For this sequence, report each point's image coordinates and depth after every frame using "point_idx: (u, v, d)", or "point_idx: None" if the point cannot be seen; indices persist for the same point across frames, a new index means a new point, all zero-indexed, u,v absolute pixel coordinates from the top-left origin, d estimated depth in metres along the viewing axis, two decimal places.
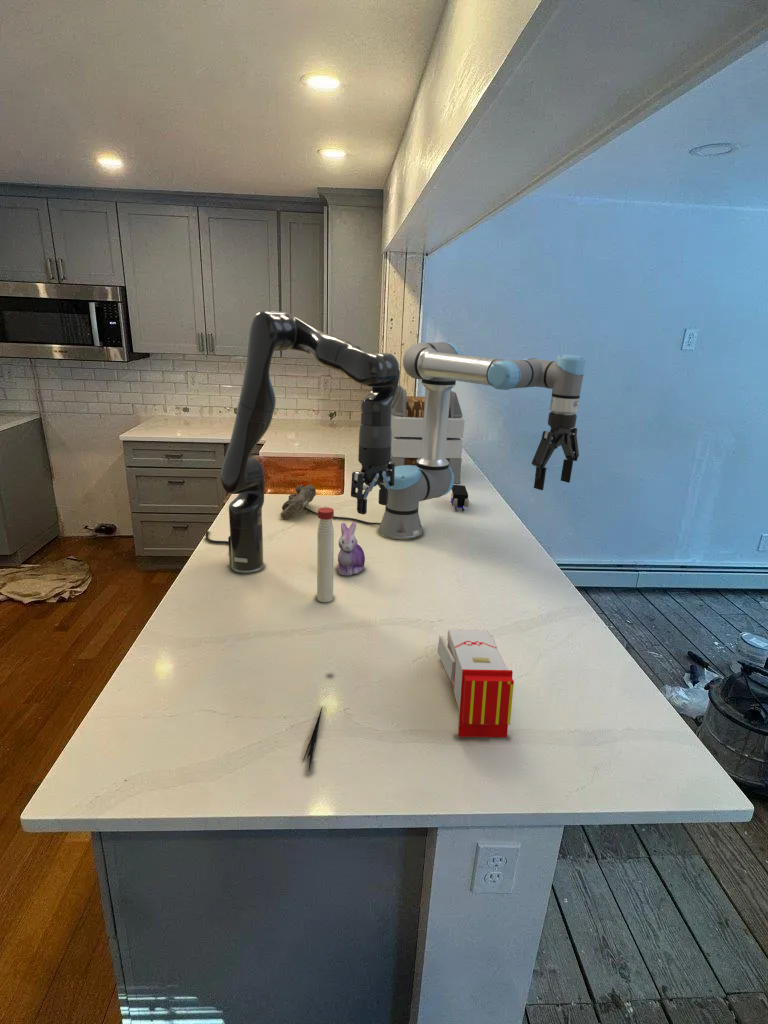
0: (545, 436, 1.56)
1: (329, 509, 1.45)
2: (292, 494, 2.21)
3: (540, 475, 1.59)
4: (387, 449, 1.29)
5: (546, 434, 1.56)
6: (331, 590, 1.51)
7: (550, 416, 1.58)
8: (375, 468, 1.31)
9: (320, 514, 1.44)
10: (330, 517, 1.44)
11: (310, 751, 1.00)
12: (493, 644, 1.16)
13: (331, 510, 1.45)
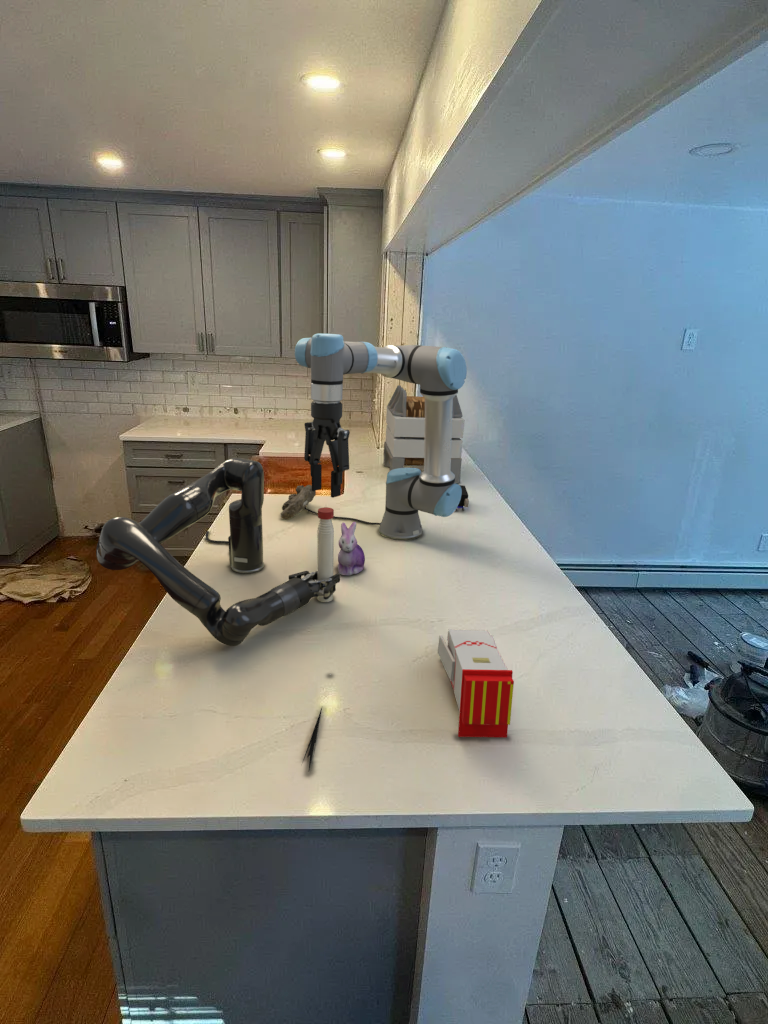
0: (345, 436, 1.34)
1: (329, 509, 1.45)
2: (292, 494, 2.21)
3: None
4: (290, 583, 1.40)
5: (346, 434, 1.34)
6: None
7: (330, 408, 1.33)
8: None
9: (320, 514, 1.44)
10: (330, 517, 1.44)
11: (310, 751, 1.00)
12: (493, 644, 1.16)
13: (331, 510, 1.45)
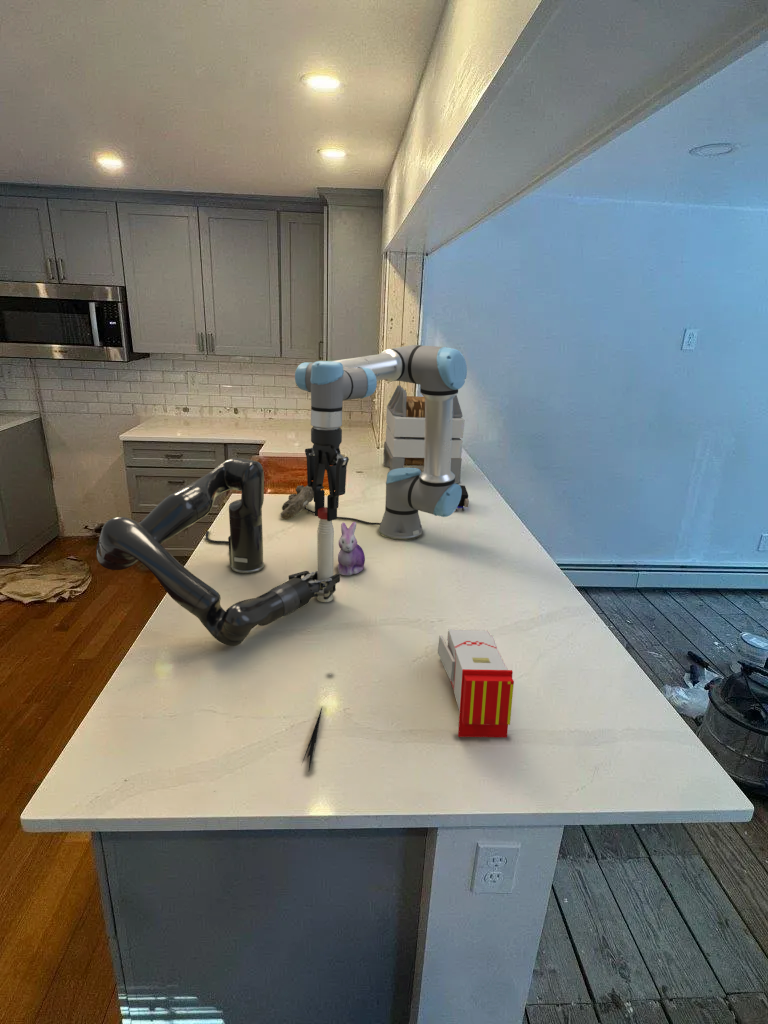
0: (343, 463, 1.37)
1: None
2: (292, 494, 2.21)
3: None
4: (290, 583, 1.40)
5: (345, 461, 1.36)
6: None
7: (330, 435, 1.35)
8: None
9: (320, 514, 1.44)
10: None
11: (310, 751, 1.00)
12: (493, 644, 1.16)
13: None
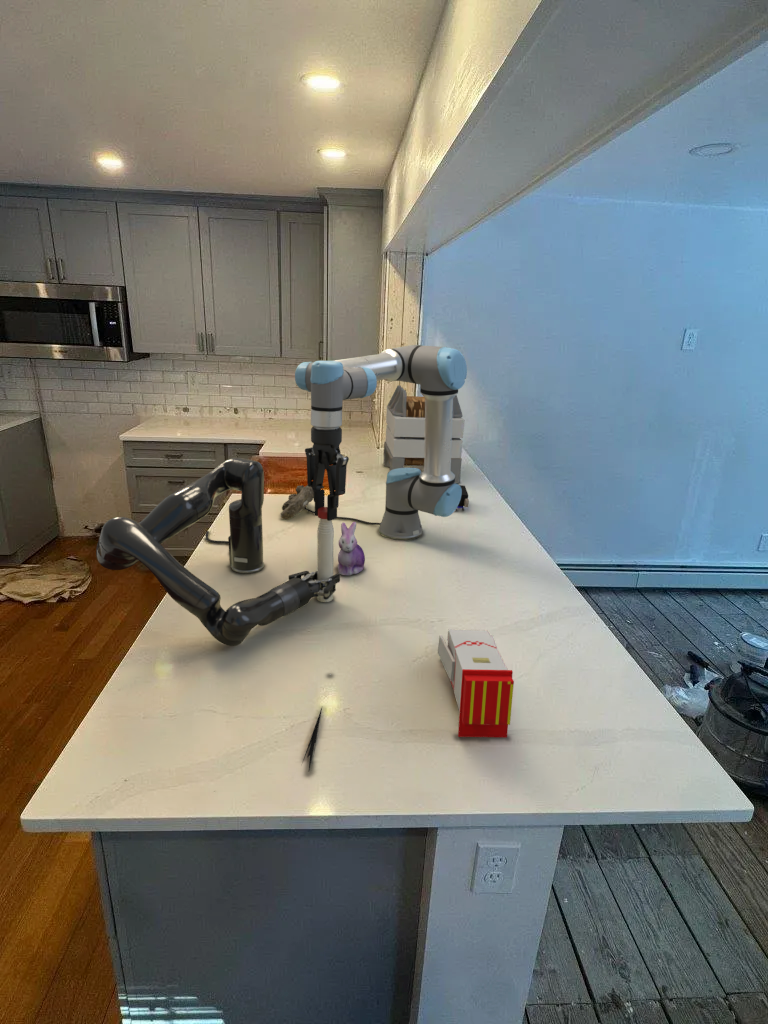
0: (343, 463, 1.36)
1: (324, 508, 1.46)
2: (292, 494, 2.21)
3: None
4: (290, 583, 1.40)
5: (345, 461, 1.36)
6: None
7: (330, 434, 1.35)
8: None
9: None
10: None
11: (310, 751, 1.00)
12: (493, 644, 1.16)
13: None
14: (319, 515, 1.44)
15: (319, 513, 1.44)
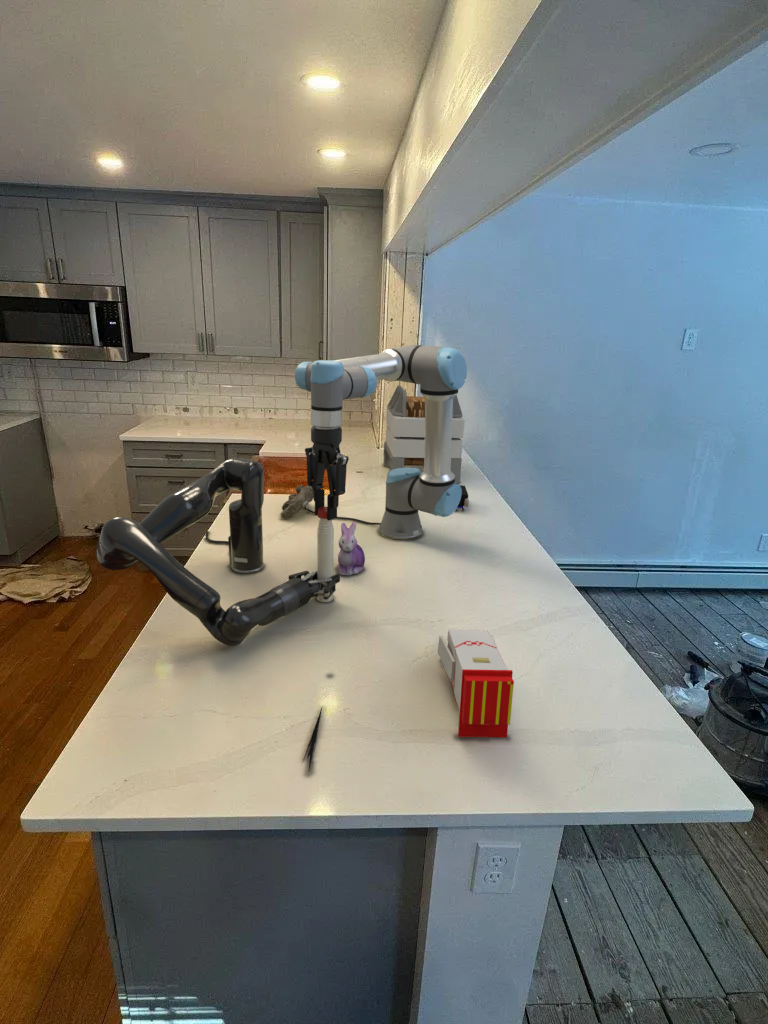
0: (343, 463, 1.36)
1: (321, 509, 1.45)
2: (292, 494, 2.21)
3: None
4: (290, 583, 1.40)
5: (345, 461, 1.36)
6: None
7: (330, 434, 1.35)
8: None
9: None
10: None
11: (310, 751, 1.00)
12: (493, 644, 1.16)
13: (320, 508, 1.45)
14: None
15: None
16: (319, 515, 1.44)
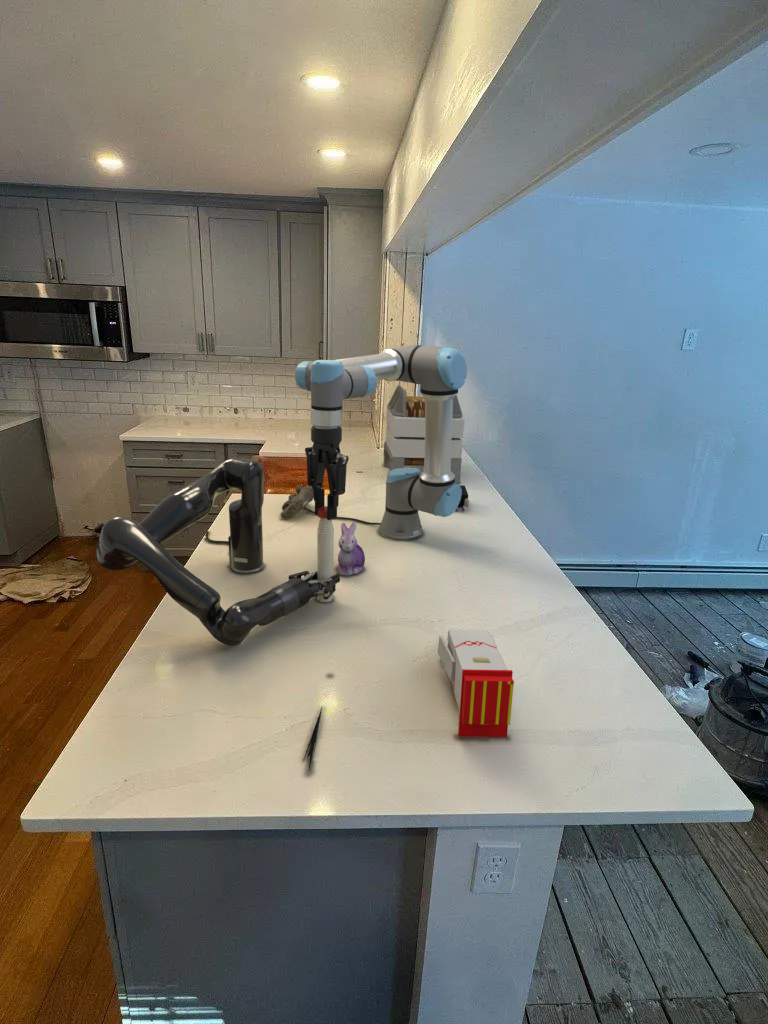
0: (343, 462, 1.36)
1: (326, 510, 1.44)
2: (292, 494, 2.21)
3: None
4: (290, 583, 1.40)
5: (345, 460, 1.36)
6: None
7: (330, 433, 1.35)
8: None
9: None
10: (318, 515, 1.44)
11: (310, 751, 1.00)
12: (493, 644, 1.16)
13: (323, 510, 1.44)
14: None
15: None
16: None
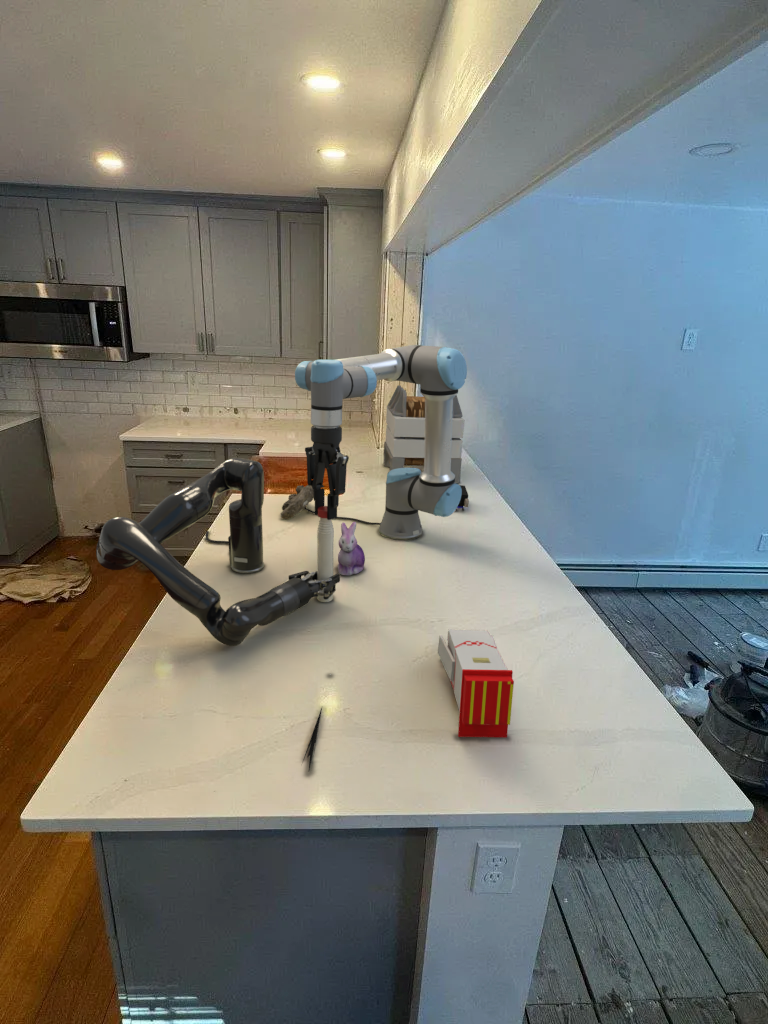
0: (343, 462, 1.36)
1: None
2: (292, 494, 2.21)
3: None
4: (290, 583, 1.40)
5: (345, 460, 1.36)
6: None
7: (330, 433, 1.35)
8: None
9: (318, 512, 1.44)
10: None
11: (310, 751, 1.00)
12: (493, 644, 1.16)
13: None
14: None
15: None
16: None
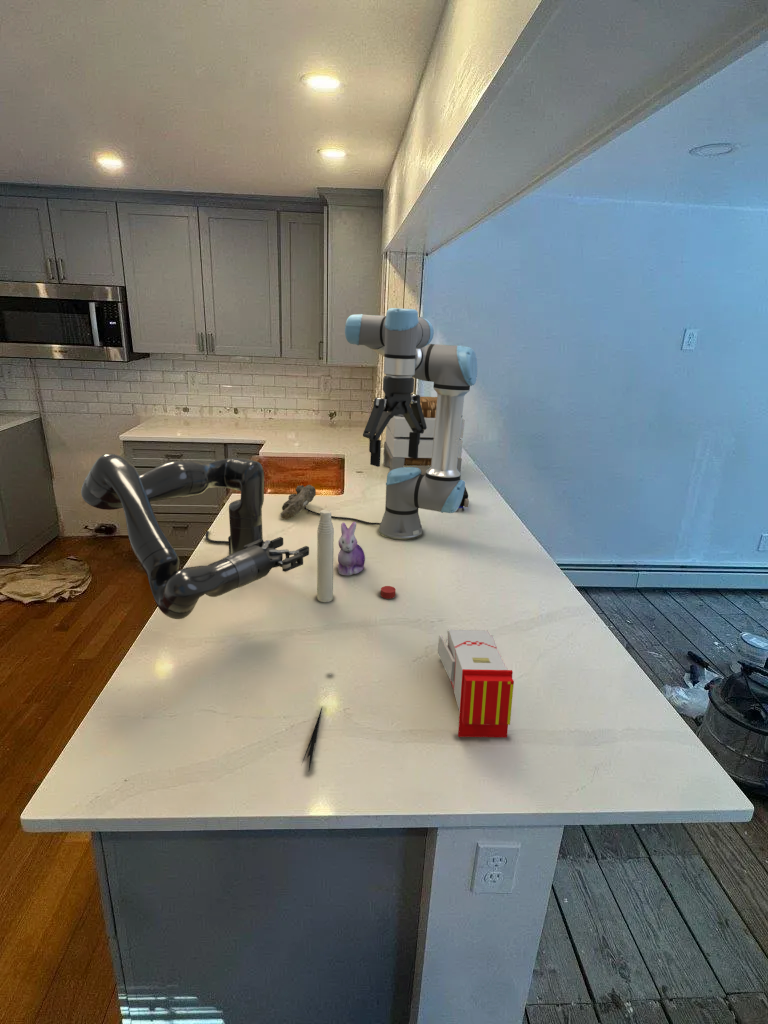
0: None
1: (387, 587, 1.57)
2: (292, 494, 2.21)
3: None
4: (247, 551, 1.25)
5: None
6: (331, 590, 1.51)
7: None
8: None
9: (392, 594, 1.55)
10: None
11: (310, 751, 1.00)
12: (493, 644, 1.16)
13: (391, 587, 1.57)
14: (381, 594, 1.56)
15: (381, 592, 1.56)
16: None
